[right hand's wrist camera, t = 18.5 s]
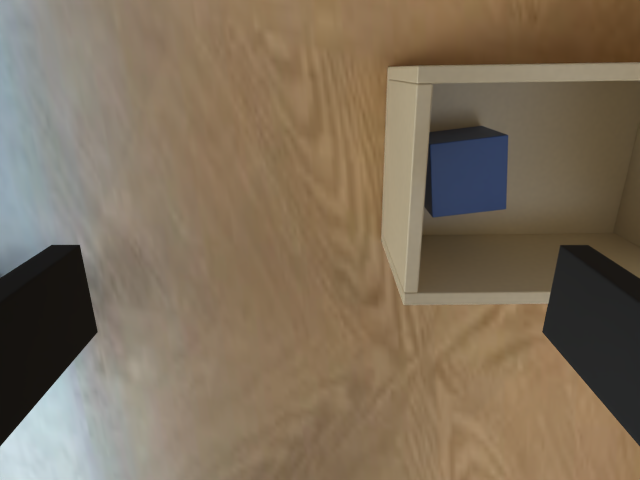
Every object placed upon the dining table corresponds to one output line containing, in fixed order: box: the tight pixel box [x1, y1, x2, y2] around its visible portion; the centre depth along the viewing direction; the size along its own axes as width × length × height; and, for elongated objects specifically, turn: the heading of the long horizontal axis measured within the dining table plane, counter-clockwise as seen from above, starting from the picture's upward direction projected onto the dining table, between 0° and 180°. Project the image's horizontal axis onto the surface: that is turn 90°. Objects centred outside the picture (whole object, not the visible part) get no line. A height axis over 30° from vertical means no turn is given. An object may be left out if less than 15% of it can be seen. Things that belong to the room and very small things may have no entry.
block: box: [424, 126, 508, 218], centre depth 27 cm, size 4×4×4 cm
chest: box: [381, 62, 640, 305], centre depth 25 cm, size 16×11×9 cm
